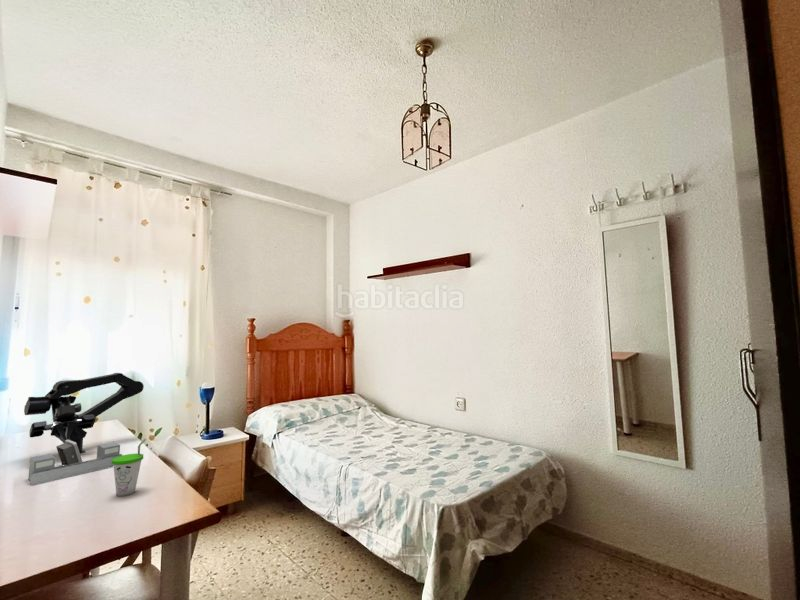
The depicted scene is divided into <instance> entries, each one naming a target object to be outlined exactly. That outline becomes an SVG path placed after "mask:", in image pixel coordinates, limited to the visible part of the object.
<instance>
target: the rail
mask: <svg viewBox="0 0 800 600" xmlns="http://www.w3.org/2000/svg"><path fill="white" fill-rule="evenodd" d="M119 456H123V454H121V453H120V454H119V455H115V456H110V457H106V458H98V459H97V458H93V459H89V460H85V461H84V460H83V461H82V462H79V463H74V464H69V465H64V466H62V465H60V466H56V467H55V466H54V468H53V469H48V470H44V471H39V472H34V473H33V472H31V474H30V475H31V481H29V482H30V483H29V484H30V486H34V485H35V484H36V485H40V484H44V483H48V482H54V481H57V480H61V479H66V478H70V477H71V478H72V477H74V476H79V475H82V474H87V473H91V472H96V471H101V470H105V468H106V469H109V468H108V467H110V468H114V467H113V466H114V465H113V464H112V459H114V458H116V457H119ZM36 485H35V486H36Z"/></svg>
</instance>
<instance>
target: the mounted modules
mask: <svg viewBox="0 0 800 600" xmlns="http://www.w3.org/2000/svg"><path fill="white" fill-rule="evenodd" d="M120 450H121V444H119V443H118V442H115V441H111V442H106V443H100V444H97V449H96V459H98V458H106V457H110V456H115V455H119V454H121V451H120ZM55 461H56V457H55V456H54V455H53V454H51V453H47V454H41V455H35V456H30V458H29V468H28V469H29V470H28V477H27V478H28V479H27V480H28V481H29V480H30V481H31V475H30V474H31V472H33V473H34V472H39V471H44V470H48V469H53V468H55V464H56V463H55ZM30 481H29V482H30Z"/></svg>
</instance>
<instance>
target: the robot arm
mask: <svg viewBox="0 0 800 600" xmlns="http://www.w3.org/2000/svg"><path fill="white" fill-rule="evenodd" d="M113 383H115V384H117V385H118V386H120V388H119V389H118V390H116V392H115V393H112V394H111V395H110V396H108V397H106V398H105V399H104V400H102V401H100V402H99V403H97V404H95V405H94V406H92V407H90V408H89V409H87V410H85V411H84V412H82V413H80V412H81V411H82V404H81V402H79V403H78V402H77V403H75V401H76V399H77V396H74V395H73V394H75V393H78V392H80V391H82V390H85V389H90V388H93V387H94V388H95V387H98V386H104V385H109V384H113ZM143 391H144V383H143V382H142V381H139V380H138V381H137V380H134V379H132V378H130V377H129V376H126V375H125V374H123V373H121V372H114V373H111V374H105V375H101V376H100V375H99V376H95V377H90V378H83V379H71V380H70V379H69V380H68V379H67V380H59V381H57V382H55V384H53V386H52V389H50V391H49V392H47V394H45V395H44V396H29V397H28V398H27V401H26V403H25V405H24V409H23V414H24V416H32V415H44V414H46V413H48V412H49V411H51V413H52V422H51V423H49V424H48V423H47V421H46V420H44V421H36V422H33V423H31V425H30V429H29V437H30V438H35V437H37V438H38V437H42V436H43V435H44V431H45V432H46V431H50V436H51V437H52V436H54V437H55V438H57V439H58V440H60V441H61V442H62V444H63V443H65V440H71V441H73V442H76V443H77V446H78V449H79V452H80V454H81V453H85V452H86V450H85V449H83V448H84V446H83V445H84V439H85V437H86V435H87V434H88V432H87V431H86V429H92V428H94V424H95V422H96V420H97V418H96V417H98V416H99V415H102V413H104V412H106V411H108V410H109V409H110V408H112V407H114V406H116V405H117V404H119V403H120V402H121V401H123V400H125V399H129V398H131V397H134V396H137V395H138V394H140V393H142V392H143ZM74 403H75V404H74ZM77 413H79V414H77Z"/></svg>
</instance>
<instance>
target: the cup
mask: <svg viewBox="0 0 800 600" xmlns="http://www.w3.org/2000/svg"><path fill="white" fill-rule="evenodd" d="M146 440H147V439H146V438H144V439H143V440H142V441H141V442H140V443H139V444H138V446H137V453H128V454H122V456H119V457H116V458H114V459H112V464H113V465H114V467H113V472H114V484H115V495H116V497H127V496H130V495H132V494H135V492H136V488H137V484H138V481H139V480H138V479H139V474H140V469H141V468H140V467H141V465H142V460H144V453H141V445H143V443H144V442H146Z"/></svg>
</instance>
